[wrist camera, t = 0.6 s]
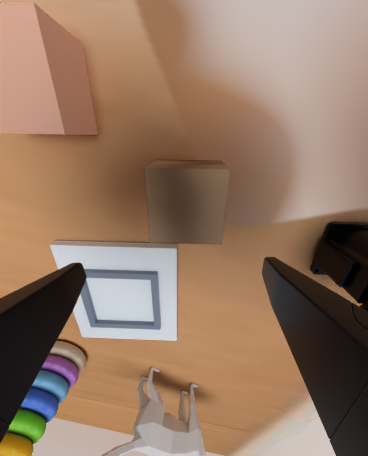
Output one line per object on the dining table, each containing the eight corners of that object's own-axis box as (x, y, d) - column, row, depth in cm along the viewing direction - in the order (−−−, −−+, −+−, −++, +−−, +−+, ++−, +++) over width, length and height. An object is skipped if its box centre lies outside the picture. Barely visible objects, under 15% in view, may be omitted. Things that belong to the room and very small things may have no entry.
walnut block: (220, 160, 17) (230, 169, 13) (214, 219, 20) (221, 244, 16) (155, 159, 17) (143, 168, 13) (158, 218, 20) (149, 242, 16)
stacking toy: (51, 331, 29) (-139, 601, 12) (96, 352, 31) (-12, 607, 14) (32, 352, 32) (-146, 597, 15) (74, 371, 34) (-38, 603, 17)
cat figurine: (203, 400, 37) (210, 535, 25) (111, 366, 33) (62, 510, 20) (217, 391, 36) (232, 531, 23) (121, 354, 31) (75, 503, 19)
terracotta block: (83, 44, 14) (33, 2, 10) (98, 134, 17) (64, 134, 12) (4, 44, 14) (-82, 1, 10) (32, 133, 17) (-26, 132, 12)
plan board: (177, 243, 21) (176, 251, 20) (177, 334, 28) (176, 344, 27) (55, 240, 22) (46, 247, 20) (85, 330, 29) (80, 341, 27)
